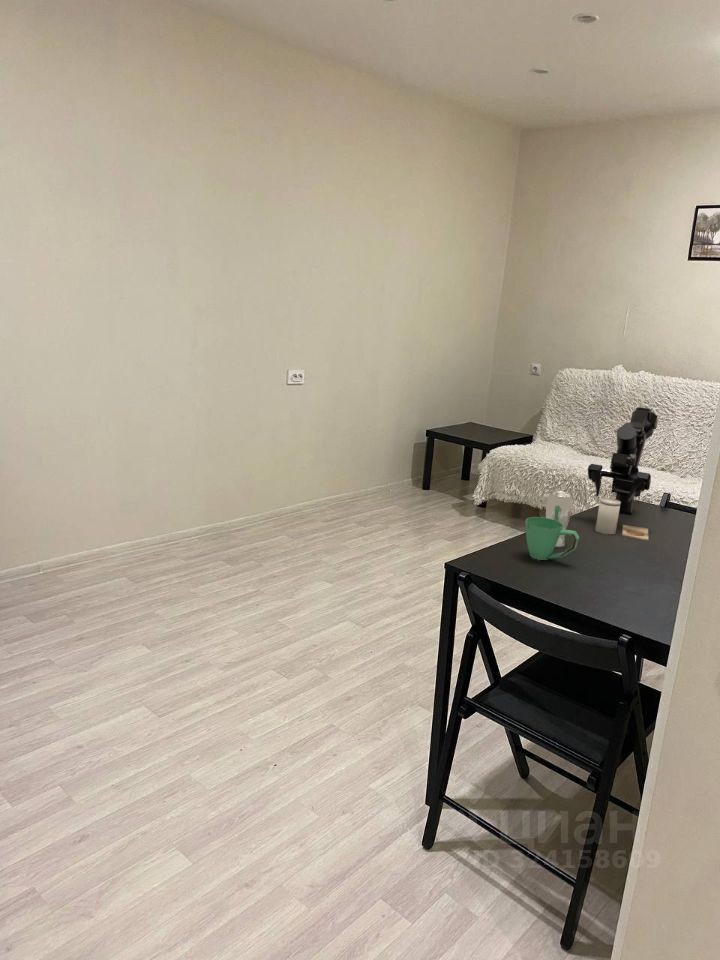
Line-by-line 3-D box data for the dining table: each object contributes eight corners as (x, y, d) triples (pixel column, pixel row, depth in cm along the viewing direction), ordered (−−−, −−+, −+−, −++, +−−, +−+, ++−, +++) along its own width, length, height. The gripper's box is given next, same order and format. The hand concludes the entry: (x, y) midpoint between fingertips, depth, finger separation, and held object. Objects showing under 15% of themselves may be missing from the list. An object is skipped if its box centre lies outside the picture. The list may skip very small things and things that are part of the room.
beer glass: (542, 538, 215) (549, 489, 211) (566, 542, 213) (574, 492, 209) (540, 545, 208) (547, 494, 205) (565, 549, 206) (572, 498, 203)
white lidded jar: (595, 527, 230) (600, 496, 227) (615, 530, 228) (621, 499, 225) (594, 532, 224) (599, 501, 222) (615, 535, 222) (620, 504, 220)
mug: (515, 557, 196) (520, 522, 194) (527, 548, 205) (532, 514, 202) (569, 571, 189) (575, 535, 187) (579, 561, 197) (585, 526, 195)
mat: (622, 525, 233) (623, 523, 233) (647, 530, 231) (648, 527, 230) (622, 536, 222) (622, 533, 222) (648, 540, 220) (648, 538, 219)
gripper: (593, 438, 231) (580, 478, 224) (655, 448, 222) (644, 490, 215) (595, 459, 239) (582, 498, 232) (655, 469, 231) (643, 509, 224)
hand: (612, 498), depth 226 cm, fingers open, 9 cm apart
